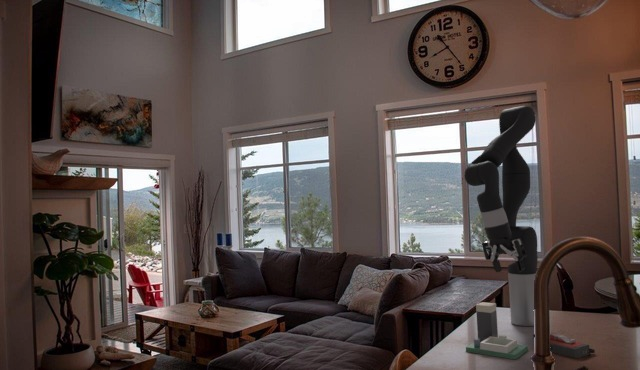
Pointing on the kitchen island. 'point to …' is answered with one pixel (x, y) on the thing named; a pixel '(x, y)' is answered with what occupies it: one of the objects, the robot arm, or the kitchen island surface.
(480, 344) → the controller board
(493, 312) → the grey and cream block
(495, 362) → the kitchen island surface
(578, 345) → the walkie-talkie
